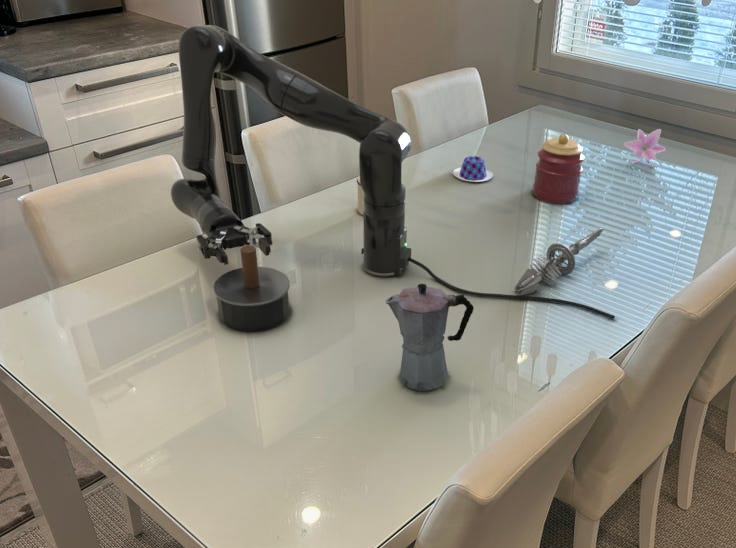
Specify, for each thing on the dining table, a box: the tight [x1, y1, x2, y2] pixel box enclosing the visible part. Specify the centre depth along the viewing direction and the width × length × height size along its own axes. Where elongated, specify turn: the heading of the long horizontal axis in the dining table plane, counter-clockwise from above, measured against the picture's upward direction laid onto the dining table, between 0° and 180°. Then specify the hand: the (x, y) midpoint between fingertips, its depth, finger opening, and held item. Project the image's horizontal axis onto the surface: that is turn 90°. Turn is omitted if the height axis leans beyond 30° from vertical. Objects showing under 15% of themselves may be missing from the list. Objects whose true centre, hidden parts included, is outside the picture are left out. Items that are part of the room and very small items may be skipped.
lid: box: [213, 246, 291, 306], centre depth 145 cm, size 15×15×9 cm
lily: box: [623, 128, 667, 168], centre depth 234 cm, size 12×12×10 cm
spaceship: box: [512, 227, 604, 296], centre depth 170 cm, size 8×35×8 cm
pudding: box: [452, 155, 494, 183], centre depth 216 cm, size 12×12×5 cm
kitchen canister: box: [532, 133, 585, 205], centre depth 204 cm, size 13×13×18 cm
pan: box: [216, 291, 290, 333], centre depth 150 cm, size 14×14×6 cm
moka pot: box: [384, 283, 474, 392], centre depth 131 cm, size 10×15×20 cm, turn 95°
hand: (247, 255), depth 144 cm, fingers open, 8 cm apart
